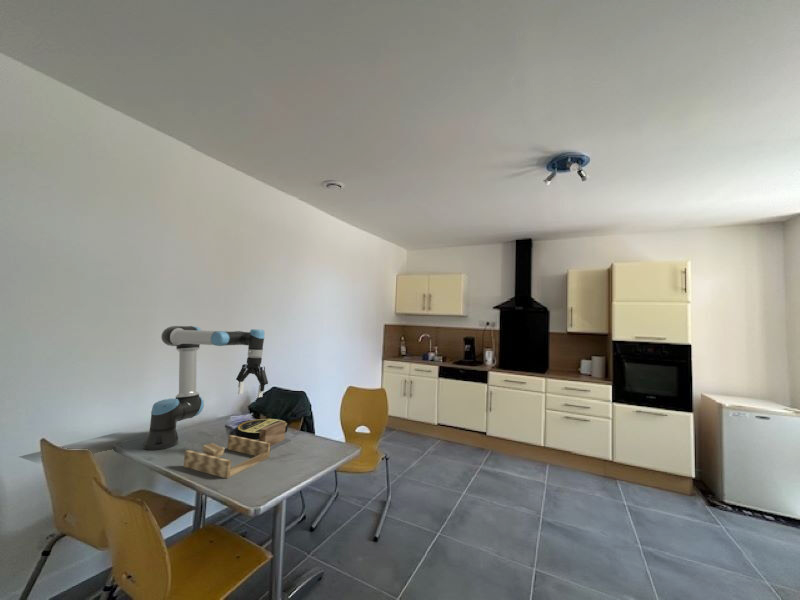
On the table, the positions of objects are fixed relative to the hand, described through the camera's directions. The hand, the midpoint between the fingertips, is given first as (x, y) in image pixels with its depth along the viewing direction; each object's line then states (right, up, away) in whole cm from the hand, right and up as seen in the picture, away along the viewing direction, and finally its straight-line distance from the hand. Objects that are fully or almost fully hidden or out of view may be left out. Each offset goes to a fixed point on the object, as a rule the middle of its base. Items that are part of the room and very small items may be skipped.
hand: (250, 395), depth 176 cm
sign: (-4, -31, +25) cm, 40 cm away
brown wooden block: (+11, -28, +3) cm, 31 cm away
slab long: (-11, -27, -18) cm, 34 cm away
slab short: (-10, -24, -18) cm, 31 cm away
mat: (+11, -29, +3) cm, 31 cm away
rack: (0, -26, -21) cm, 34 cm away
